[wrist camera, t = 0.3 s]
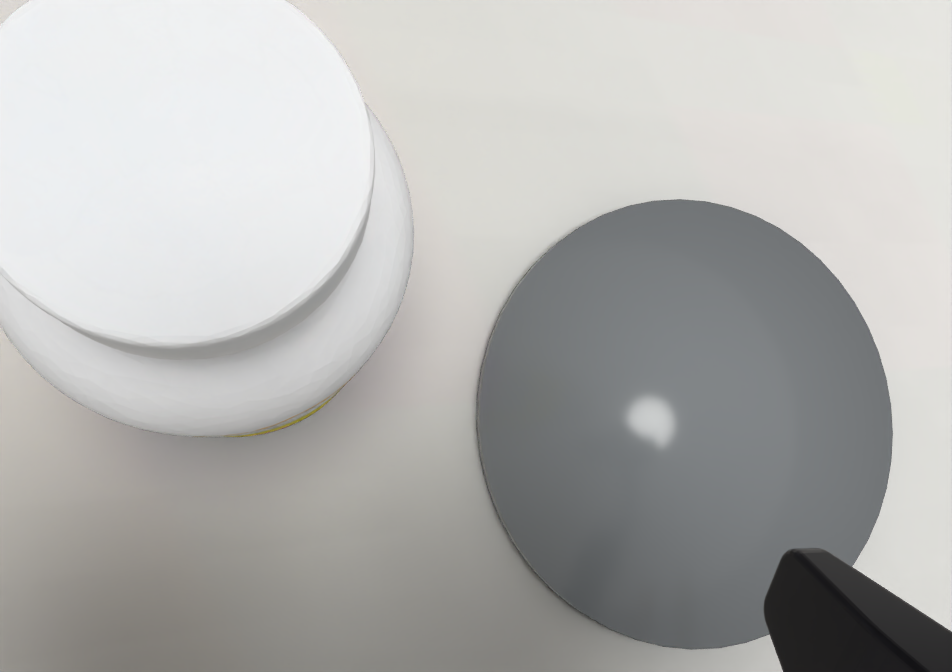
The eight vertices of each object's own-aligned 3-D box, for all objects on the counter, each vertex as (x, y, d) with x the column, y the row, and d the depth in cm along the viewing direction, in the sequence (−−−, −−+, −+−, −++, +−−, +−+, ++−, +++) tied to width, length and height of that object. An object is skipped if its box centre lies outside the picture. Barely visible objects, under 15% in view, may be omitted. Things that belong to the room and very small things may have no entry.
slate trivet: (944, 515, 26) (960, 516, 25) (599, 732, 22) (607, 739, 22) (766, 145, 26) (777, 138, 25) (400, 306, 23) (403, 302, 22)
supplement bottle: (71, 239, 21) (-252, -58, 9) (314, 163, 23) (338, -180, 10) (163, 479, 21) (-32, 532, 8) (402, 384, 22) (536, 310, 10)
